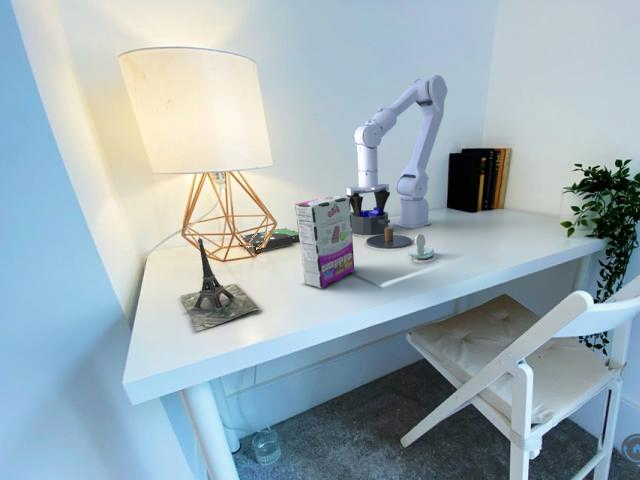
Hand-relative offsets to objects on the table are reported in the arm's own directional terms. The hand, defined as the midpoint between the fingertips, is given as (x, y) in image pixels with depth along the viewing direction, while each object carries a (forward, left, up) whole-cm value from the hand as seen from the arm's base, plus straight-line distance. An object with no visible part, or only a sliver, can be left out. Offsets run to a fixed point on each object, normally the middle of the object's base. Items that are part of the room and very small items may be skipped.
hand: (369, 216), depth 105 cm
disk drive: (+29, -8, -5) cm, 31 cm away
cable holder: (0, 0, -2) cm, 2 cm away
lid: (+4, +14, -4) cm, 15 cm away
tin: (0, 0, -5) cm, 5 cm away
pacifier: (+7, +30, -5) cm, 31 cm away
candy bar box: (+30, +25, -5) cm, 39 cm away
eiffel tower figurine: (+52, +23, -5) cm, 57 cm away
